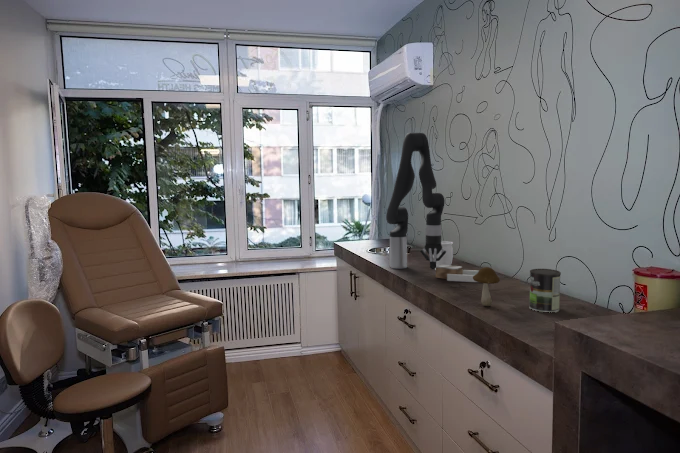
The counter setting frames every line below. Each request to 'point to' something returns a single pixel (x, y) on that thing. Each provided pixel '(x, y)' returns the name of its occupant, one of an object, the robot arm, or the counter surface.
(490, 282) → the mushroom
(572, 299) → the counter surface
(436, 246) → the robot arm
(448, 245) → the jar
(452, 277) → the bay
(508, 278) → the counter surface
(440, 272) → the brown and white block
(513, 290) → the counter surface
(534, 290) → the coffee can
